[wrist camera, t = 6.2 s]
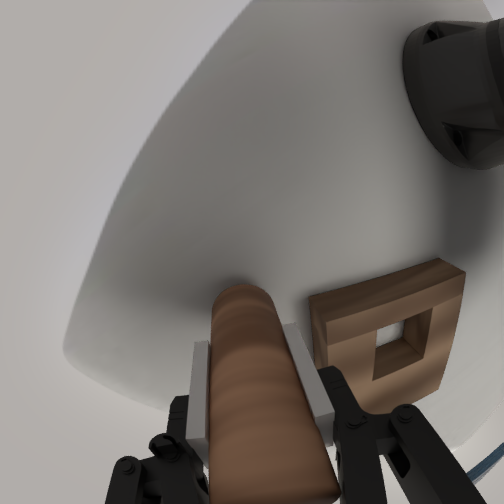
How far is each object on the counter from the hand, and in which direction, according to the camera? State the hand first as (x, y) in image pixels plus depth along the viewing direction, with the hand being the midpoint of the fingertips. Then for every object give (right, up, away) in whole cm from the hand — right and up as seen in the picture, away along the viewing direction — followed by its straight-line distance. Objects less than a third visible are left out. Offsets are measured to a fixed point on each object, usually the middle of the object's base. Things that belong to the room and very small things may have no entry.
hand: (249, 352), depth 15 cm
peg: (0, +1, +4) cm, 5 cm away
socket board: (+13, -3, +10) cm, 16 cm away
